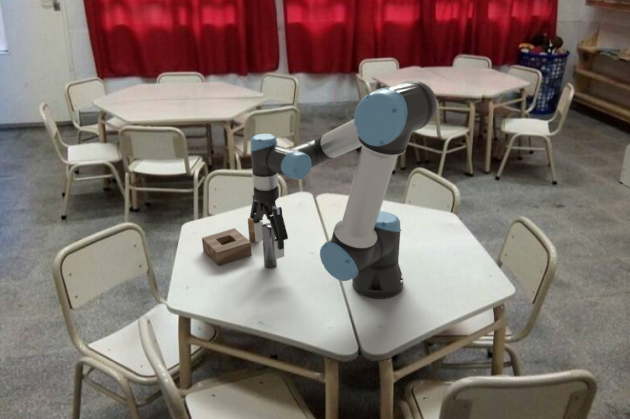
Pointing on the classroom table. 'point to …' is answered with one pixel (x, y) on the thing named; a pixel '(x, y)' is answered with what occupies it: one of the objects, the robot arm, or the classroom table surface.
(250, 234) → the oak dowel
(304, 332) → the classroom table surface
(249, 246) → the socket block
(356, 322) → the classroom table surface
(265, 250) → the metal pin
